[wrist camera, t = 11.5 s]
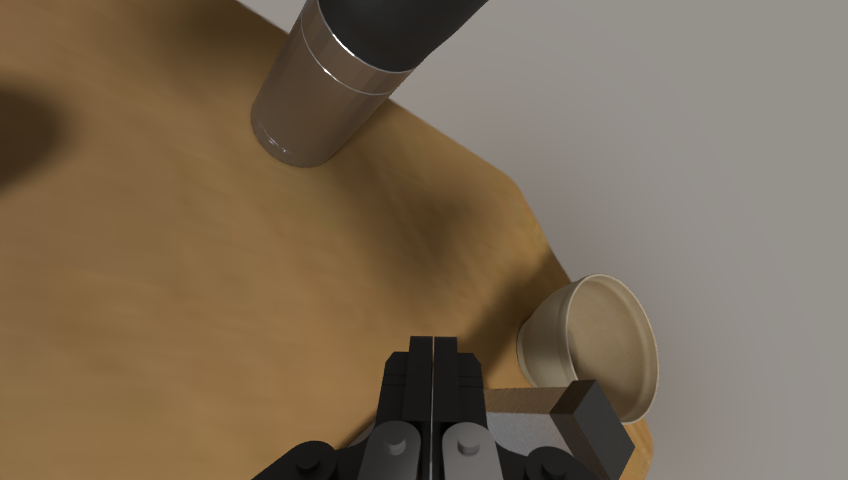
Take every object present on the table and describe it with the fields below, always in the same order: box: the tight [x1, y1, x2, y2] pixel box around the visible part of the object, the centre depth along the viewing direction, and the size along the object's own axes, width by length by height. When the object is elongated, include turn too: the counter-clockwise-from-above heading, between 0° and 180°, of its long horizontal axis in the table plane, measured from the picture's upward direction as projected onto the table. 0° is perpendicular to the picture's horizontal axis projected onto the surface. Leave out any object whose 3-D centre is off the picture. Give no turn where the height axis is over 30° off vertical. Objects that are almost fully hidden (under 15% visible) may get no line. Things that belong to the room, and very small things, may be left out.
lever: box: [483, 379, 635, 480], centre depth 36 cm, size 4×6×16 cm, turn 38°
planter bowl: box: [517, 274, 659, 425], centre depth 54 cm, size 16×16×11 cm
